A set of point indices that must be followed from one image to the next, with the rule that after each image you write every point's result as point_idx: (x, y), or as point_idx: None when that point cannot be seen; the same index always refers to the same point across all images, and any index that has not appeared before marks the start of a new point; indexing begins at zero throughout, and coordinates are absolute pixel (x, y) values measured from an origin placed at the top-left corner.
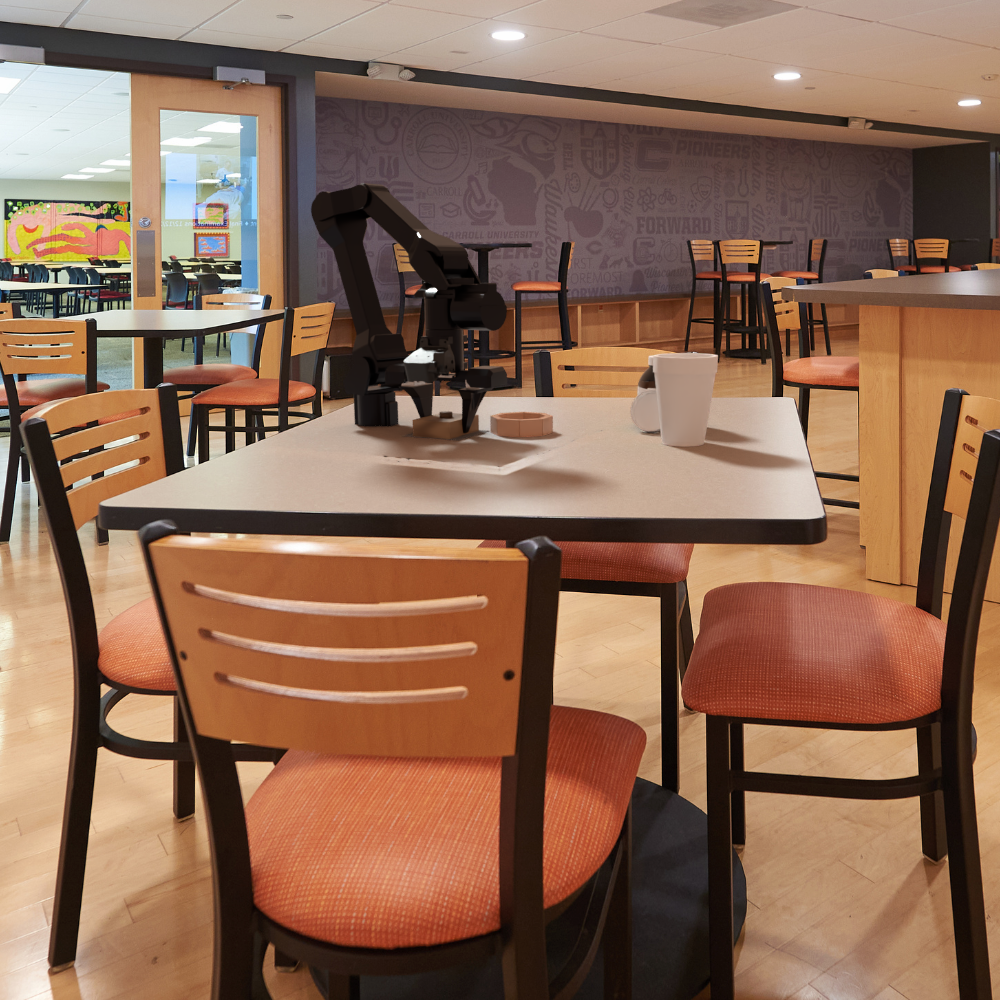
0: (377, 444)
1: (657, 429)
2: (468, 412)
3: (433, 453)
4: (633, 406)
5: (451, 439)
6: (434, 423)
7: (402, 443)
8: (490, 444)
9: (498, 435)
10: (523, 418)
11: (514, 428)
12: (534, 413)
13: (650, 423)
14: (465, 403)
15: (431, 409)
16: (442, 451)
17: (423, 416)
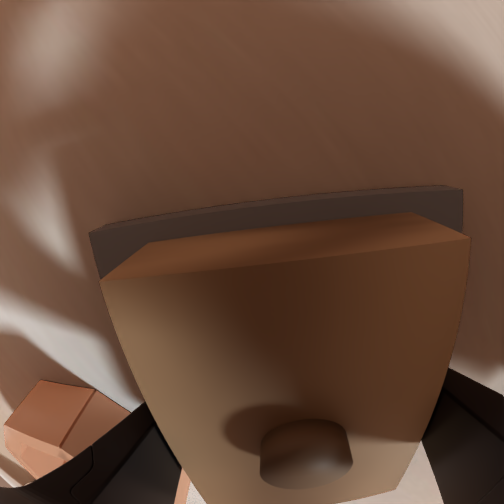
0: (487, 100)
1: (30, 482)
2: (89, 446)
3: (106, 34)
4: None
5: (129, 233)
6: (251, 260)
7: (429, 167)
8: (73, 343)
9: (81, 402)
10: None
11: (26, 410)
12: None
13: None
14: (70, 488)
15: (433, 464)
16: (98, 91)
17: (450, 387)
